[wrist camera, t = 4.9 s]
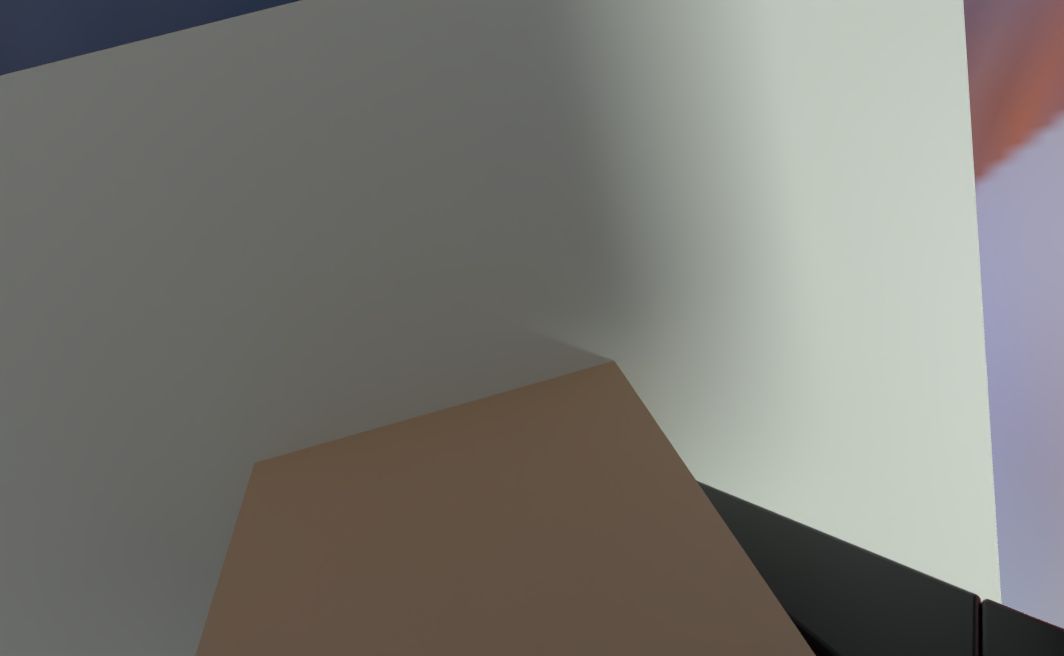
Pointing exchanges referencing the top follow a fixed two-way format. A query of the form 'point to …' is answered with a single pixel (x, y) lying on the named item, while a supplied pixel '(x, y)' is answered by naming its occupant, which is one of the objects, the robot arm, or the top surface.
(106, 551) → the lid
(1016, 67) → the top surface
